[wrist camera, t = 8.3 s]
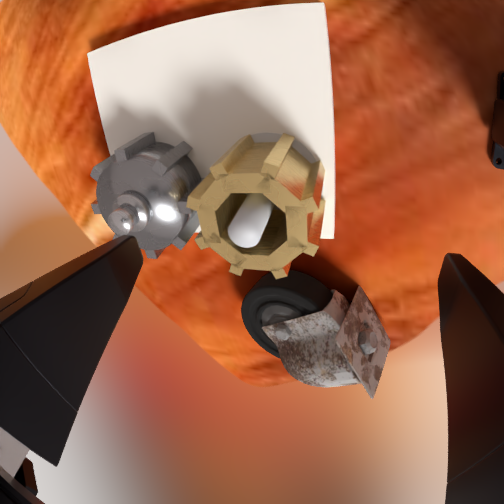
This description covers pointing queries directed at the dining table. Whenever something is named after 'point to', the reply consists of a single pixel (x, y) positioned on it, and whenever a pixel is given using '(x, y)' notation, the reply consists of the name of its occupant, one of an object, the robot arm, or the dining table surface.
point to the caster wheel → (317, 331)
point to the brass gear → (276, 190)
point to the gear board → (226, 93)
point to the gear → (148, 193)
